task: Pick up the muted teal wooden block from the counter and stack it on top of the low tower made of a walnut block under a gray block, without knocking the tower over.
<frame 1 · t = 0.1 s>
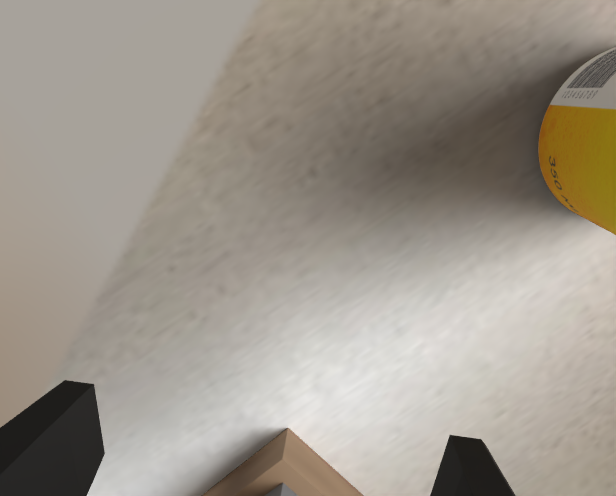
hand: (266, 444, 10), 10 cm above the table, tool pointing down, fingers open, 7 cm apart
beer can: (615, 134, 17), on the table
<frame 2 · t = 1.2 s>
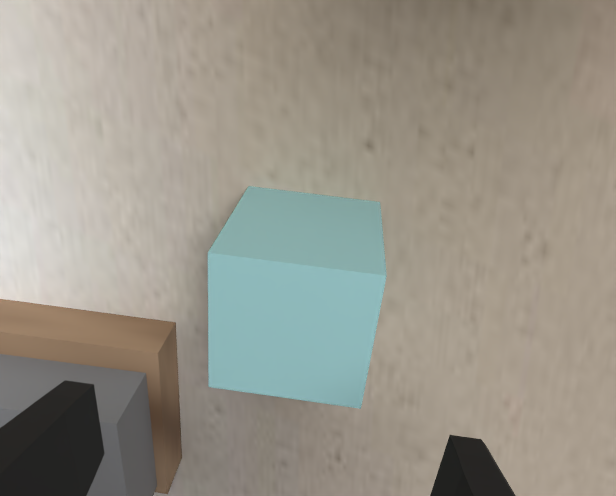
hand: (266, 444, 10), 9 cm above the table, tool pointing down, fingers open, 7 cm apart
walnut block: (97, 374, 22), on the table, touching gray block
teal block: (308, 251, 17), on the table
gray block: (75, 423, 20), point 2 cm above the table, touching walnut block
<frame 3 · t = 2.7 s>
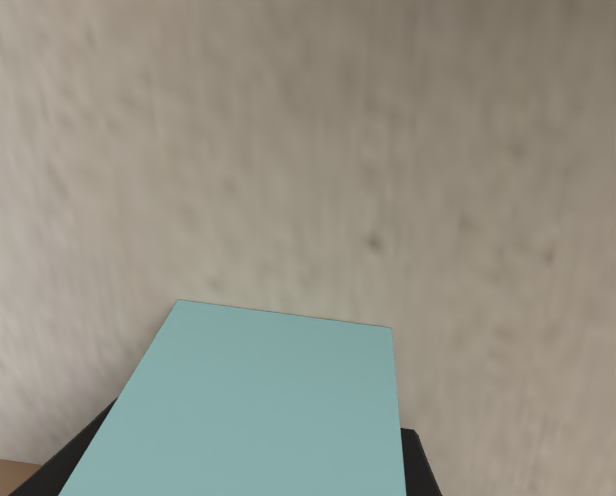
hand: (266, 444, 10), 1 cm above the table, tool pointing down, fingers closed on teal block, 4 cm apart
teal block: (277, 393, 11), on the table, touching gripper
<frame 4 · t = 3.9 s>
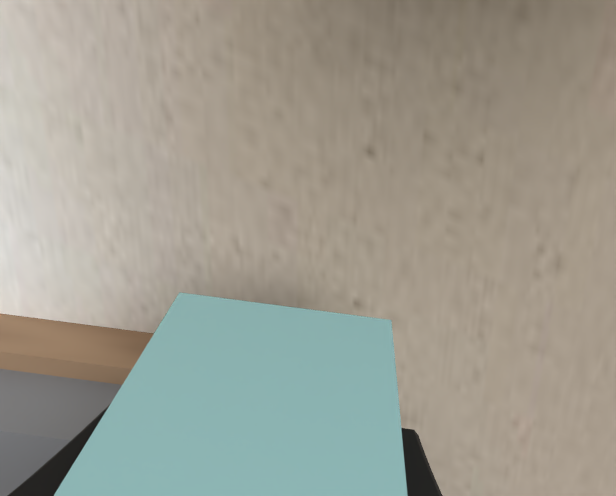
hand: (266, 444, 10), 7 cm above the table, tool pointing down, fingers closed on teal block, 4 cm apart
walnut block: (81, 389, 21), on the table, touching gray block
teal block: (277, 386, 11), point 6 cm above the table, touching gripper
gray block: (58, 438, 19), point 2 cm above the table, touching walnut block
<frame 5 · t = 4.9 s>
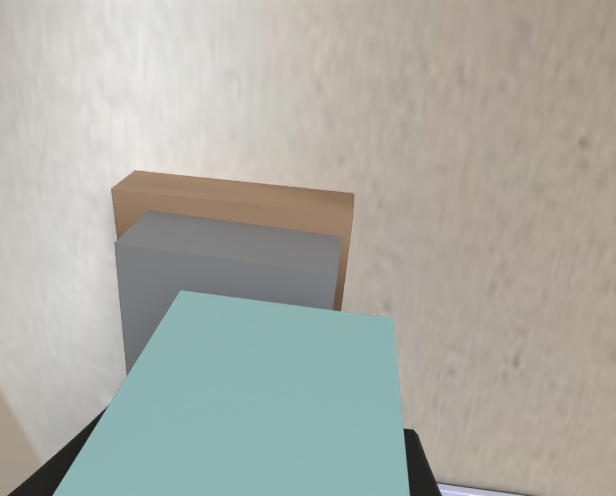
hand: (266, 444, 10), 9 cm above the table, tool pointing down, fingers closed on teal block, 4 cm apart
walnut block: (245, 269, 20), on the table, touching gray block
teal block: (278, 384, 11), point 8 cm above the table, touching gripper
gray block: (240, 303, 18), point 2 cm above the table, touching walnut block
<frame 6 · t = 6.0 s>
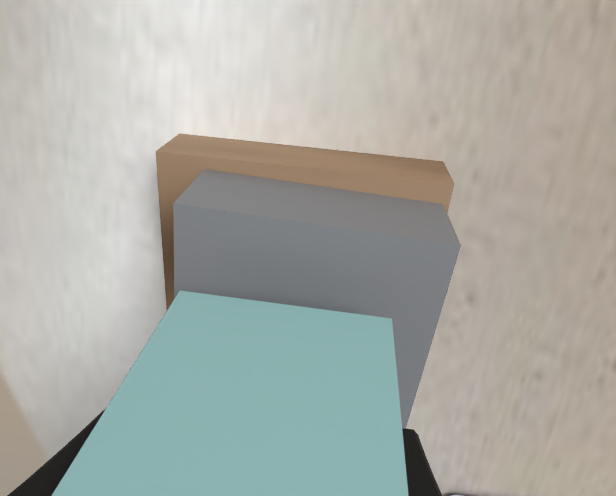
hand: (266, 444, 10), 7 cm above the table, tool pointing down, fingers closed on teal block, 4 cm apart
walnut block: (301, 254, 17), on the table, touching gray block
teal block: (278, 384, 11), point 6 cm above the table, touching gripper
gray block: (308, 287, 15), point 2 cm above the table, touching walnut block
when the fingers open (7 cm above the table, at t = 6.5 s): teal block drops 2 cm, resting on gray block.
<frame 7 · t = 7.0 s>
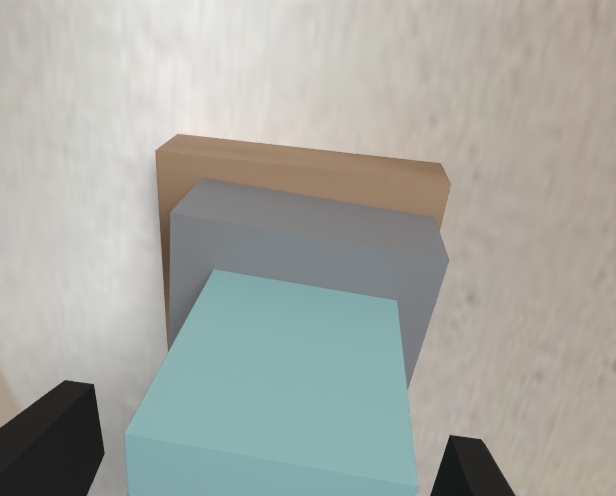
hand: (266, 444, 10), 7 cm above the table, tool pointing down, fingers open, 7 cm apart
walnut block: (299, 254, 17), on the table, touching gray block
teal block: (293, 356, 13), point 4 cm above the table, touching gray block
gray block: (301, 294, 15), point 2 cm above the table, touching teal block, walnut block
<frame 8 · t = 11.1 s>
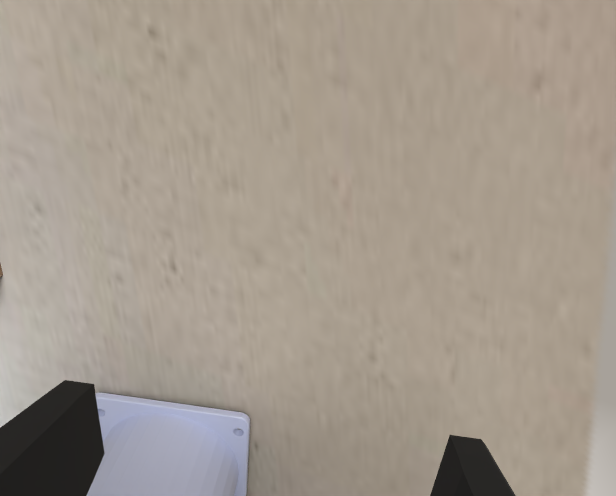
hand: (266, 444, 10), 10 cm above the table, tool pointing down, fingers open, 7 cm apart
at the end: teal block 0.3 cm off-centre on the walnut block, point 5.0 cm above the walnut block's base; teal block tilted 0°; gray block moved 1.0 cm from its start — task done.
